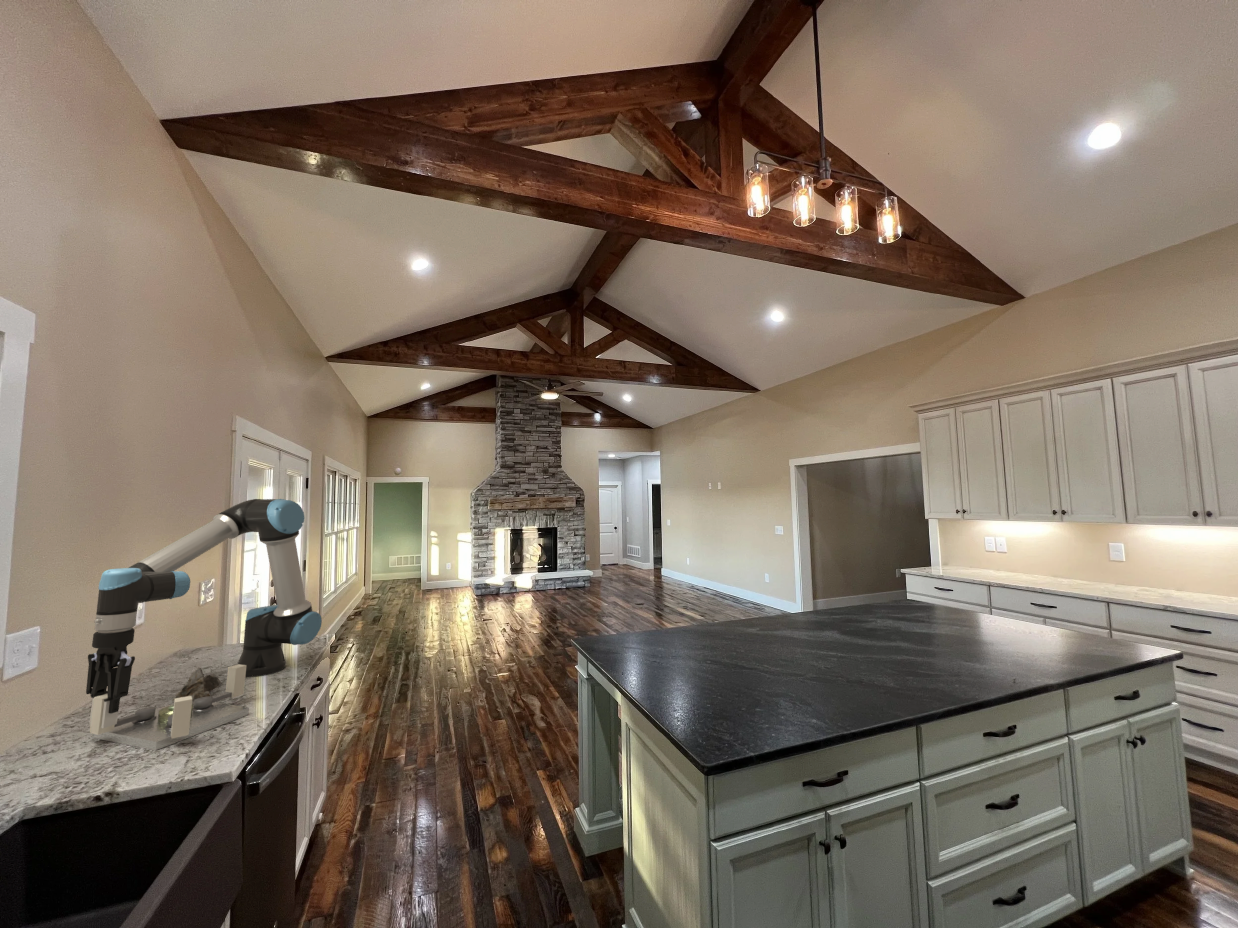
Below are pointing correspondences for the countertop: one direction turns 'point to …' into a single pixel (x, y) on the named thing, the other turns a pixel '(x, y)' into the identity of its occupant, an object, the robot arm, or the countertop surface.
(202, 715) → the level plate
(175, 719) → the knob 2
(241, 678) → the gray lever with block
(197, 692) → the rock
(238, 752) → the countertop surface
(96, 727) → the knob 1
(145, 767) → the countertop surface
